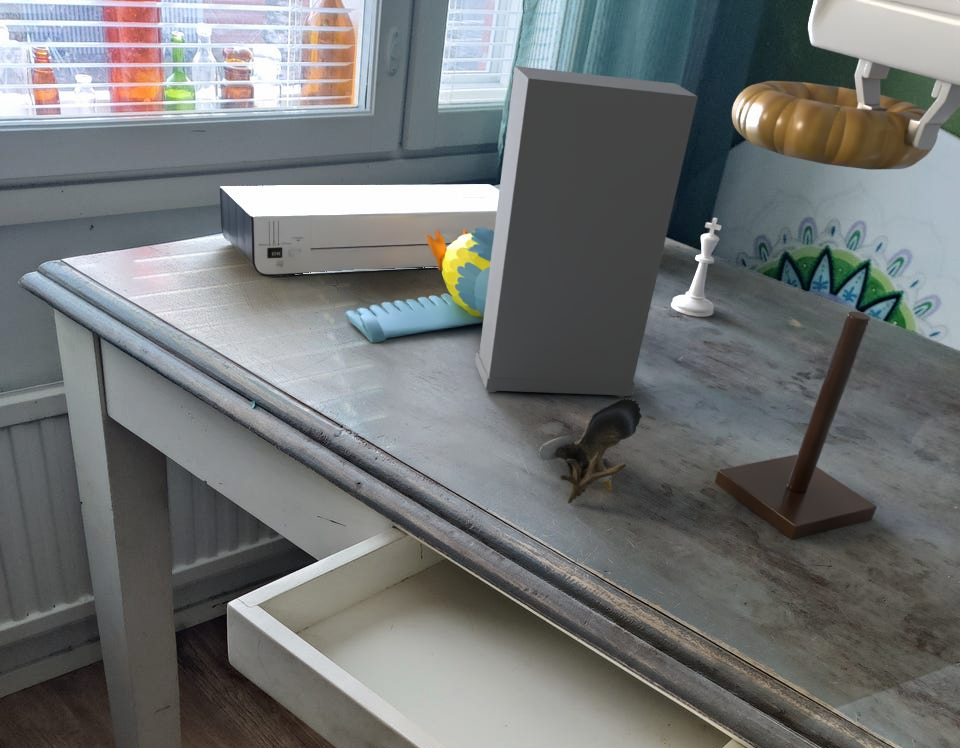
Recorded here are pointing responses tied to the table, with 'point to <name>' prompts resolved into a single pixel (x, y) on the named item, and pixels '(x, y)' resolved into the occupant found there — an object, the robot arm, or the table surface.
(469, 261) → the blue yellow toy
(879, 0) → the robot arm
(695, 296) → the chess piece
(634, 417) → the eagle figurine
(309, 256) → the laminator
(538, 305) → the gray rectangular block
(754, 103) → the bread ring
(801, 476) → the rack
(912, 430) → the table surface
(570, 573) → the table surface
